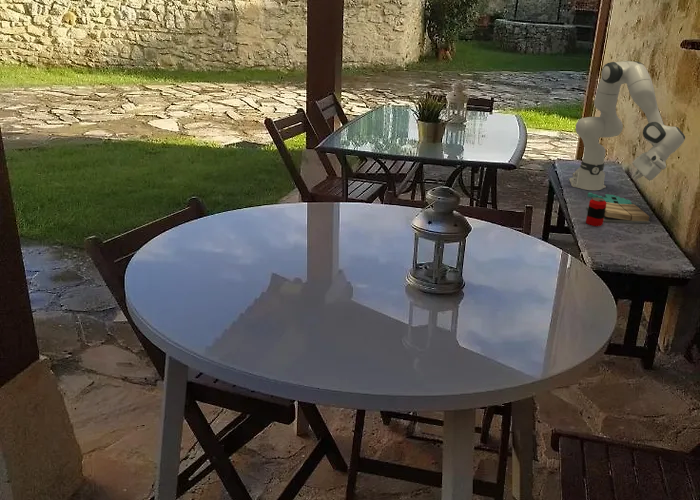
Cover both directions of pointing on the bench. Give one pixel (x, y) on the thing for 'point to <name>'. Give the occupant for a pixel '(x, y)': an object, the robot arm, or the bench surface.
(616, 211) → the board
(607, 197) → the alien figure
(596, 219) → the soda can
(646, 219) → the laid plank
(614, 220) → the underlay mat
